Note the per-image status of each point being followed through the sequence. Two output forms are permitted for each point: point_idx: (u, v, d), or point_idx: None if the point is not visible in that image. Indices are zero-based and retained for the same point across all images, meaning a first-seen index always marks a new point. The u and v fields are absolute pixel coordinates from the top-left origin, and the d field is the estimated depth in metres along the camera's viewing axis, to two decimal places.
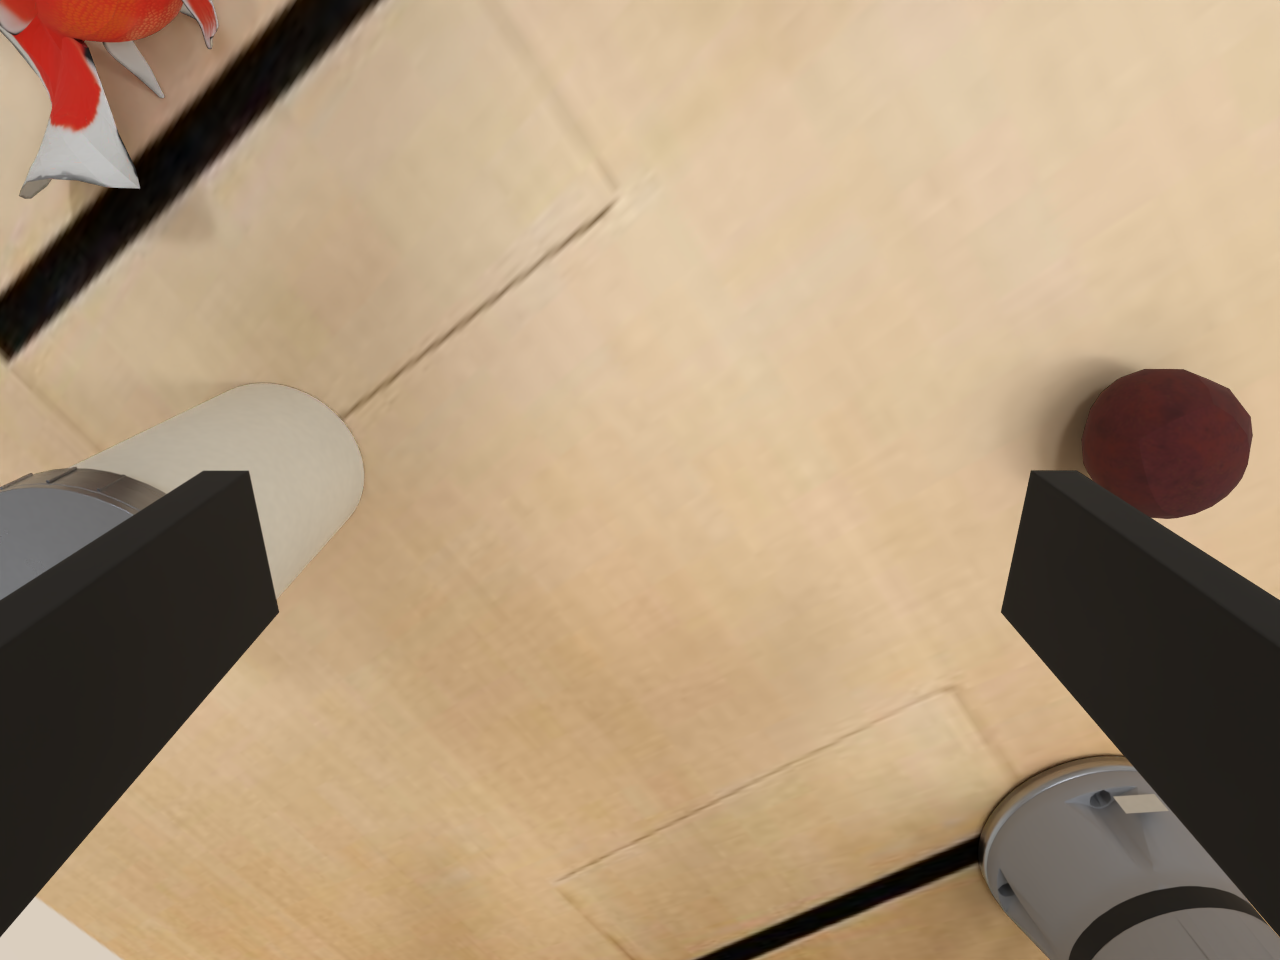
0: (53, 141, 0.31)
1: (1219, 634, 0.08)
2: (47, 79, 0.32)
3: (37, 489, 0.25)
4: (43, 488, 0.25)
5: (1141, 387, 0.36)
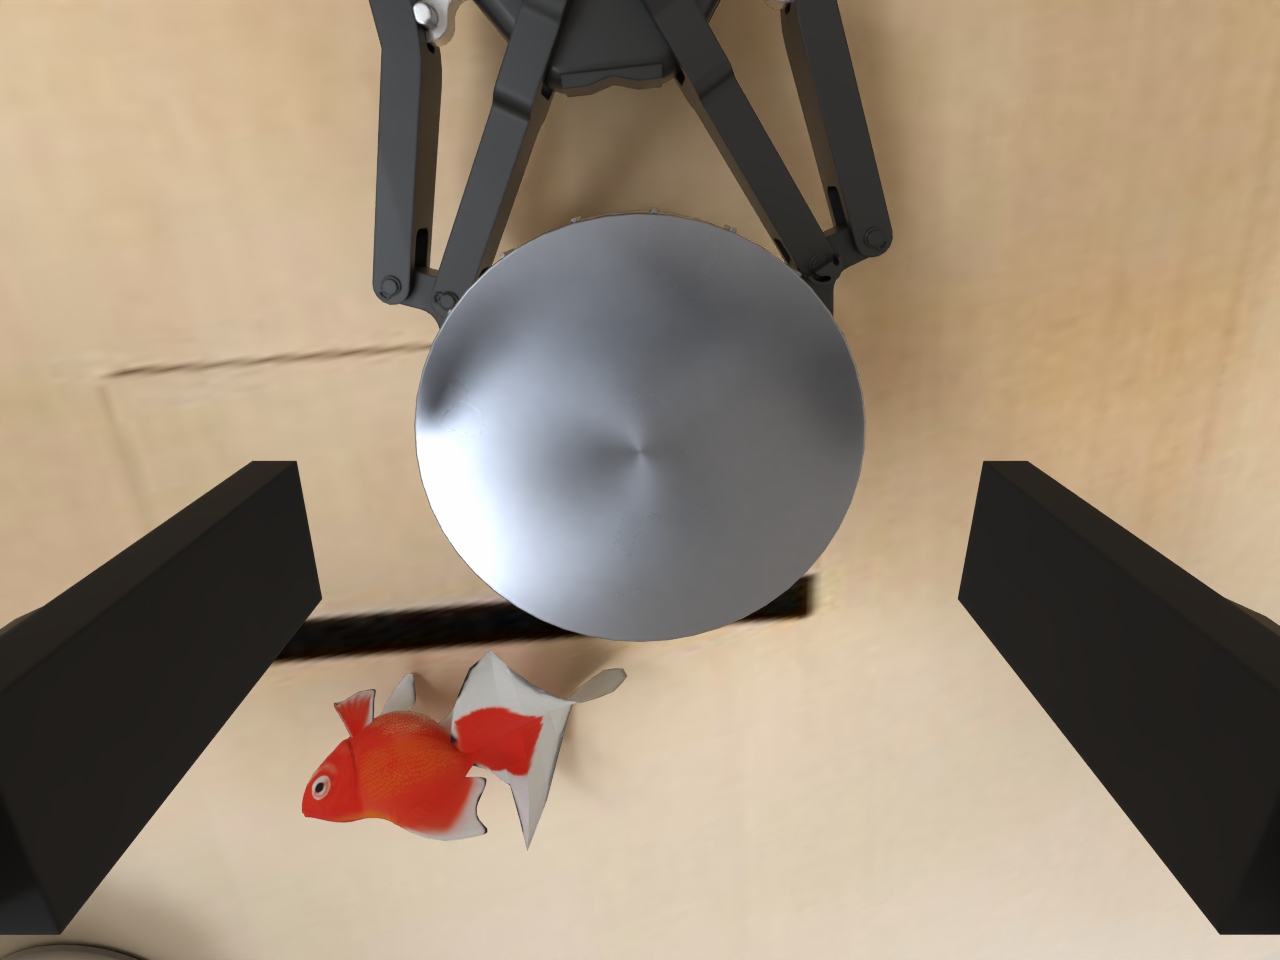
0: (539, 709, 0.34)
1: (1141, 612, 0.09)
2: (528, 731, 0.36)
3: (533, 614, 0.18)
4: (525, 611, 0.18)
5: None
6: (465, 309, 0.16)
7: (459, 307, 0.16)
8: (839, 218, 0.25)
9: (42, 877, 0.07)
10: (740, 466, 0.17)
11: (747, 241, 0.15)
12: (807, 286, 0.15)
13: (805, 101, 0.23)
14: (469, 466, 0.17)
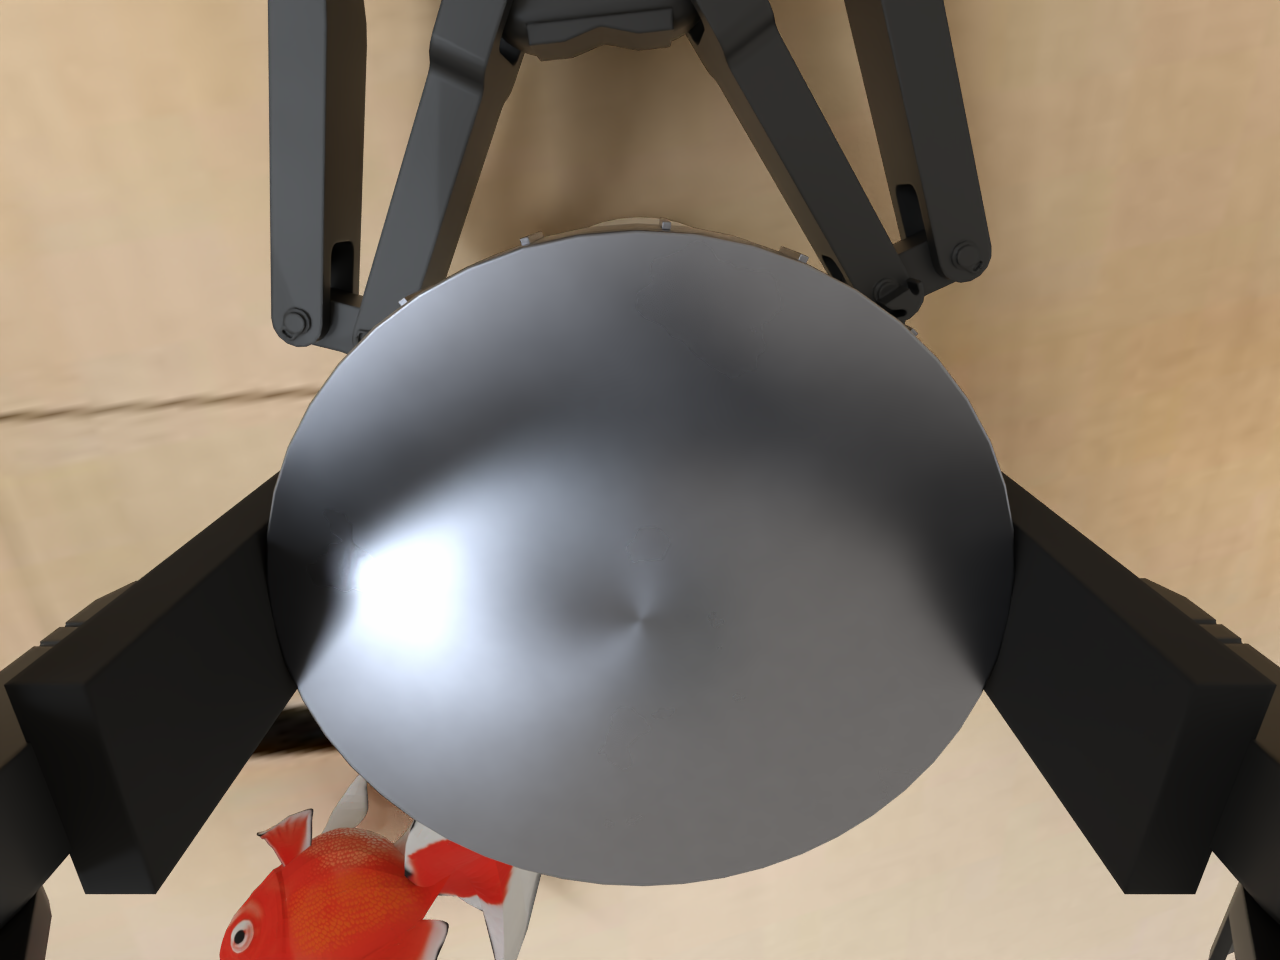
0: None
1: (1062, 592, 0.09)
2: None
3: (474, 850, 0.12)
4: None
5: None
6: (339, 394, 0.09)
7: (328, 391, 0.09)
8: (911, 227, 0.19)
9: (141, 838, 0.08)
10: (804, 641, 0.10)
11: (831, 279, 0.09)
12: (932, 356, 0.09)
13: (870, 66, 0.17)
14: (361, 640, 0.10)
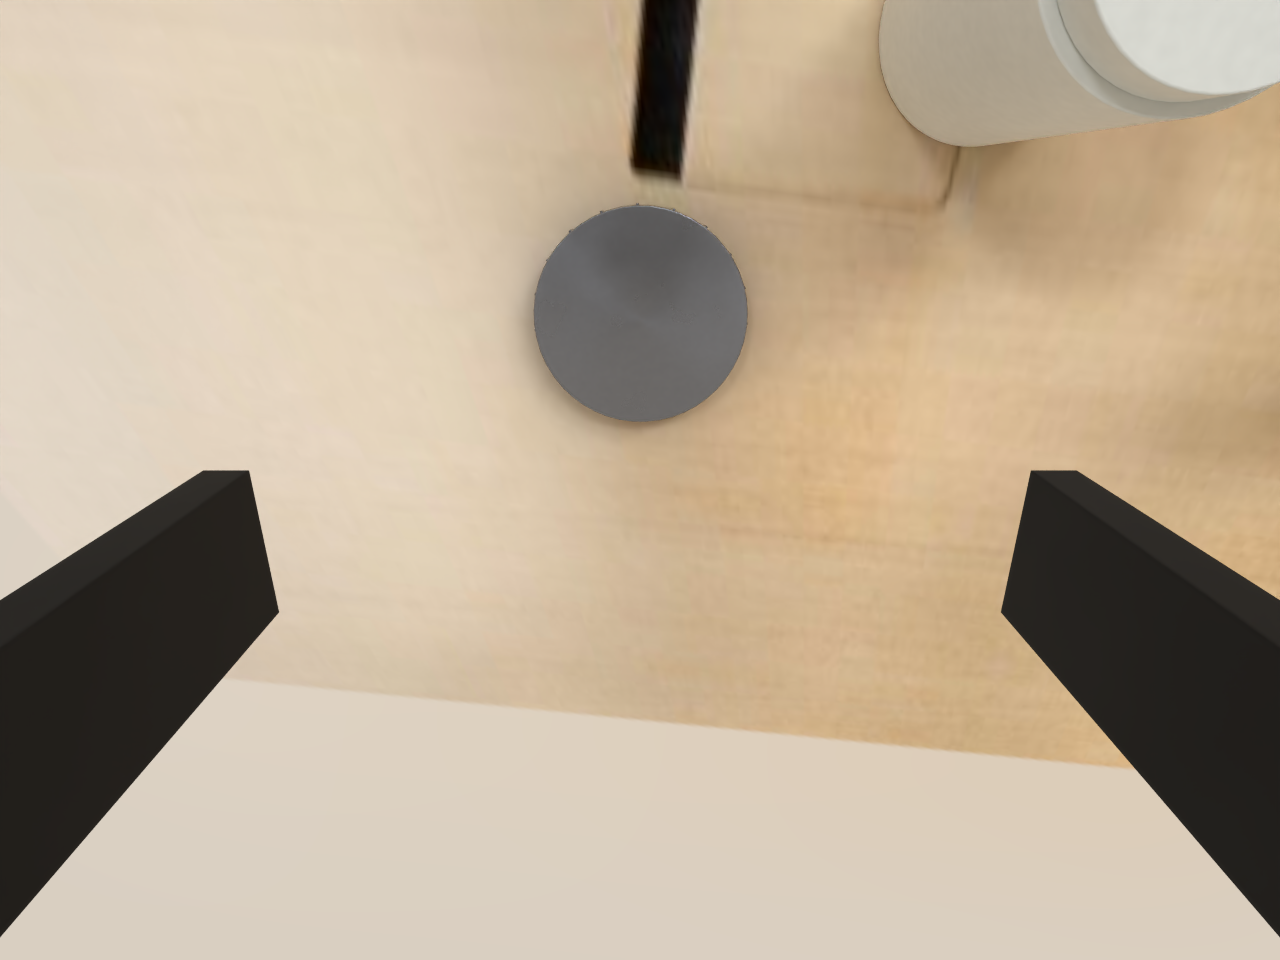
0: None
1: (1219, 634, 0.08)
2: None
3: (736, 358, 0.36)
4: (735, 362, 0.36)
5: None
6: (590, 403, 0.37)
7: (589, 406, 0.37)
8: None
9: None
10: (639, 268, 0.35)
11: (537, 289, 0.35)
12: (550, 257, 0.34)
13: None
14: (660, 396, 0.37)
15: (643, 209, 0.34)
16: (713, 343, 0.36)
